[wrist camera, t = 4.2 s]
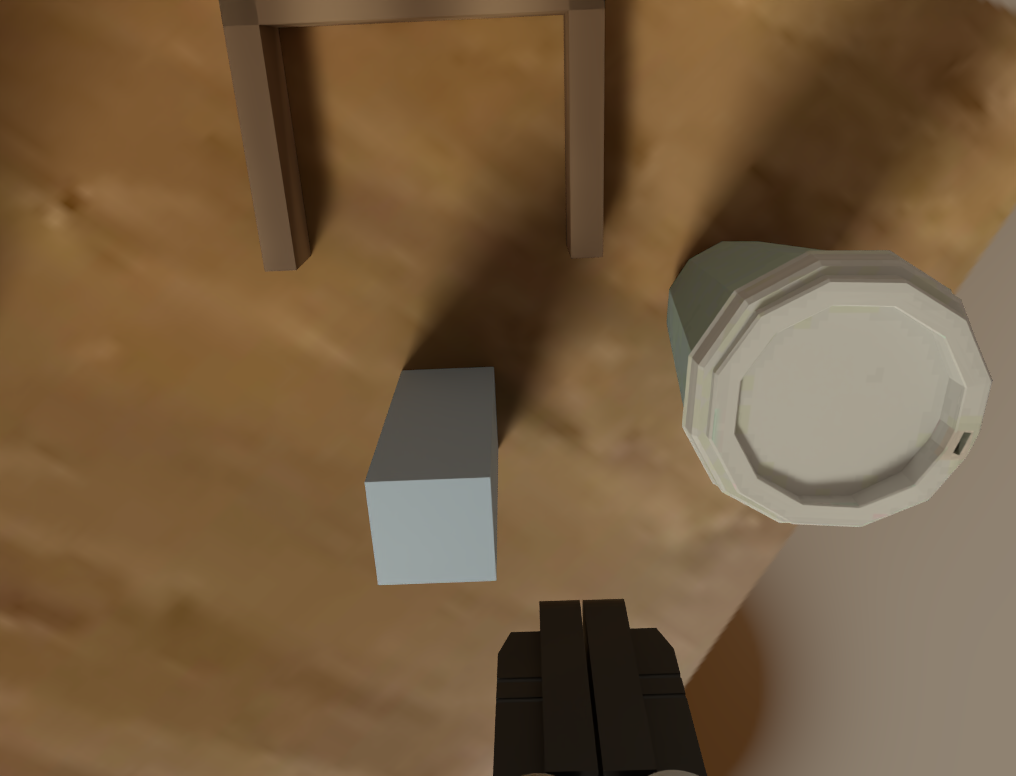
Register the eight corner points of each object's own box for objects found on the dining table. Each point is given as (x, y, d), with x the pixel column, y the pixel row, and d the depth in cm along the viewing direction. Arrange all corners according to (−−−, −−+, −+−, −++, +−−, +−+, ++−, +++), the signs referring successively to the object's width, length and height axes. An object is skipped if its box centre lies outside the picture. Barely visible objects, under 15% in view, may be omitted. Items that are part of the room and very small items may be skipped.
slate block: (410, 452, 43) (378, 585, 32) (401, 370, 41) (364, 482, 30) (498, 448, 43) (496, 580, 32) (493, 366, 41) (490, 477, 30)
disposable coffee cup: (601, 363, 41) (650, 513, 27) (668, 164, 37) (766, 223, 23) (783, 409, 42) (919, 576, 28) (868, 221, 38) (1073, 309, 24)
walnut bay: (281, 256, 39) (264, 271, 36) (239, -8, 34) (216, -15, 31) (595, 243, 39) (603, 257, 36) (596, -25, 34) (605, -33, 31)
